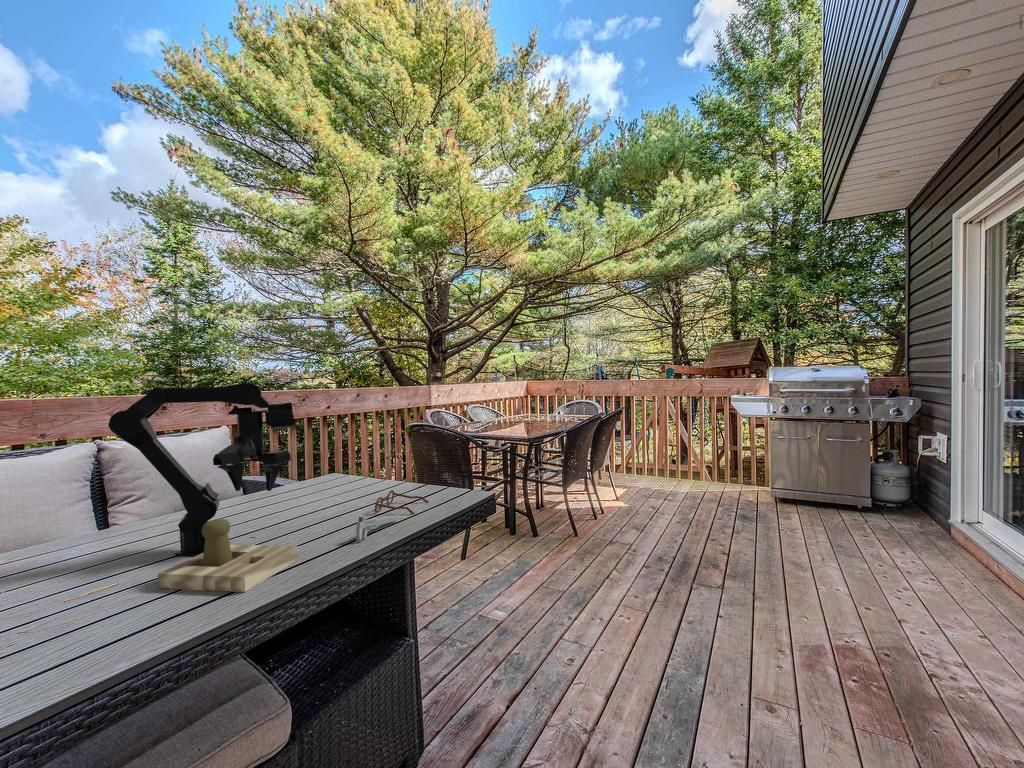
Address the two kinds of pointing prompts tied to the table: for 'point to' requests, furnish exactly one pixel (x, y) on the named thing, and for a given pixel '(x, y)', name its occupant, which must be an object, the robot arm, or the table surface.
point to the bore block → (230, 569)
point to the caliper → (371, 525)
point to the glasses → (392, 500)
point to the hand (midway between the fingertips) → (253, 490)
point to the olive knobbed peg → (216, 543)
